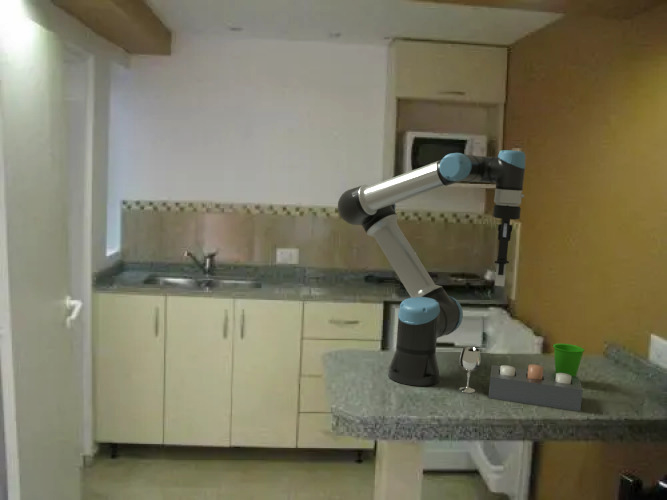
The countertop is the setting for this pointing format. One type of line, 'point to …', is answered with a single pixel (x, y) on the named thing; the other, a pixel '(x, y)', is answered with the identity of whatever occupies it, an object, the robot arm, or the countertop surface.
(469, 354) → the wineglass
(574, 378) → the grey socket block
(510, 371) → the white plug
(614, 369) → the countertop surface
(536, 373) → the plug terracotta
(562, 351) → the cup
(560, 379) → the white plug
